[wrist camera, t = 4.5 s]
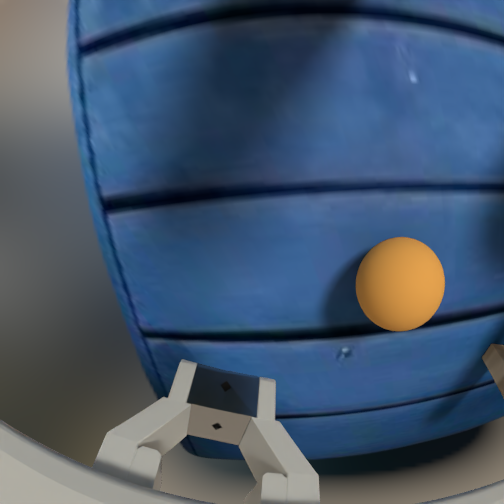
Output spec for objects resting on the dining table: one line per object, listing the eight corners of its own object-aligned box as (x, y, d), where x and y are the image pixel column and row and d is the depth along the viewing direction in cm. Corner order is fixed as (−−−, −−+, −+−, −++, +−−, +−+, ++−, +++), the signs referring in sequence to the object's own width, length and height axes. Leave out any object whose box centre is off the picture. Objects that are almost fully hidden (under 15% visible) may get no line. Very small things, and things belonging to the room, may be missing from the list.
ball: (436, 235, 20) (476, 277, 15) (404, 303, 23) (429, 354, 17) (365, 213, 20) (394, 253, 14) (336, 288, 22) (350, 343, 17)
